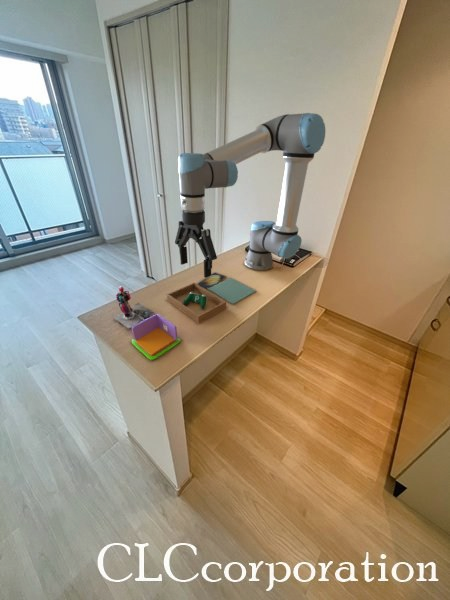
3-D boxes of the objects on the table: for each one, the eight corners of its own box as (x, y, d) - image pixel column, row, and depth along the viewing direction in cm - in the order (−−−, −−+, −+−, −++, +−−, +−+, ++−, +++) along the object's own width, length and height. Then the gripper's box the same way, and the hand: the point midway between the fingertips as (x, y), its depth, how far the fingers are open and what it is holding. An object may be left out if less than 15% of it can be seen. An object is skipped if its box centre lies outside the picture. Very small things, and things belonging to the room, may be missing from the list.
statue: (130, 332, 84) (116, 300, 74) (115, 321, 89) (100, 289, 79) (154, 314, 91) (144, 283, 81) (139, 305, 95) (128, 274, 85)
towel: (230, 278, 116) (230, 277, 116) (256, 291, 107) (256, 290, 107) (207, 289, 107) (207, 288, 107) (233, 304, 98) (233, 303, 98)
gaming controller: (206, 310, 97) (209, 296, 98) (203, 309, 93) (207, 294, 94) (185, 306, 99) (189, 292, 100) (182, 304, 95) (186, 290, 96)
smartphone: (195, 284, 110) (214, 272, 120) (195, 286, 110) (214, 273, 121) (207, 289, 107) (226, 276, 117) (207, 290, 107) (226, 277, 117)
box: (194, 288, 108) (194, 282, 106) (226, 307, 96) (226, 301, 94) (167, 300, 99) (166, 294, 97) (198, 323, 87) (198, 317, 86)
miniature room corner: (160, 325, 86) (158, 310, 82) (182, 341, 80) (180, 325, 76) (130, 342, 78) (126, 326, 74) (151, 361, 72) (148, 345, 68)
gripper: (161, 204, 81) (167, 261, 92) (210, 220, 66) (210, 285, 78) (179, 201, 85) (183, 256, 97) (229, 216, 71) (226, 278, 83)
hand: (195, 269), depth 88 cm, fingers open, 13 cm apart
